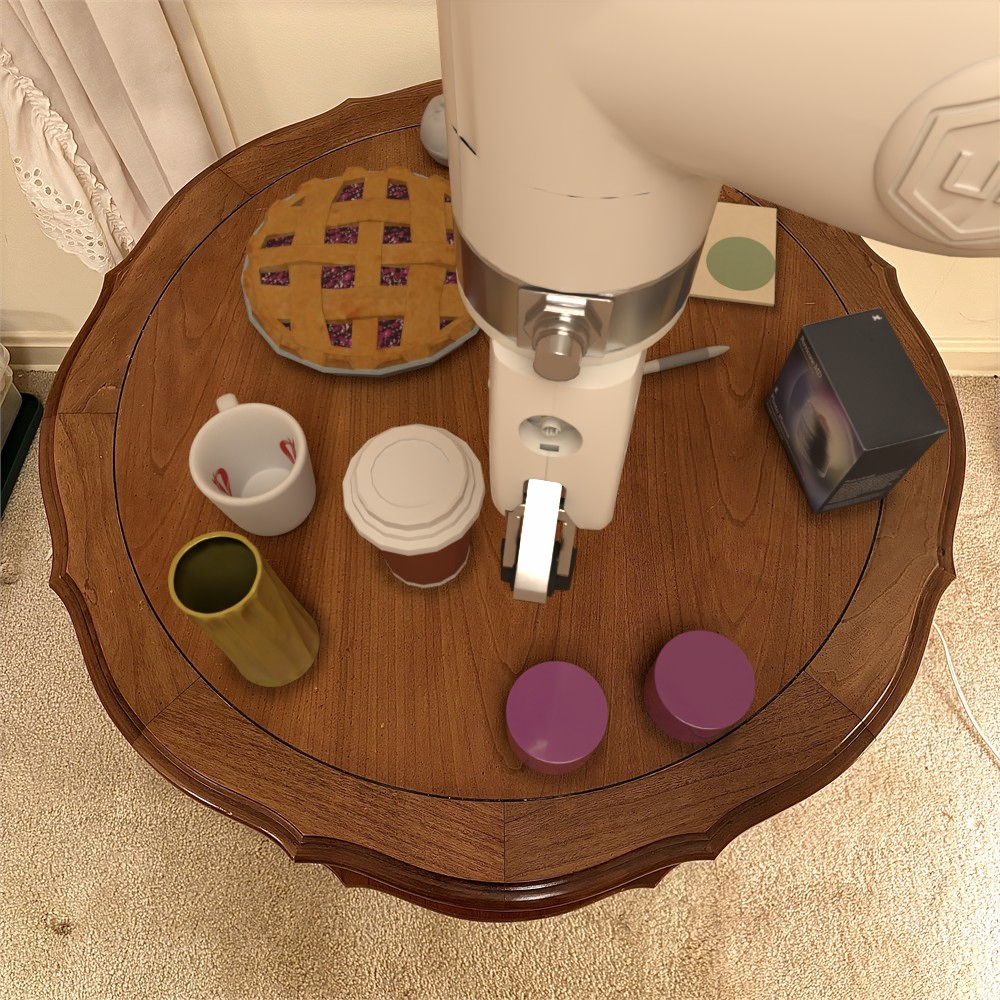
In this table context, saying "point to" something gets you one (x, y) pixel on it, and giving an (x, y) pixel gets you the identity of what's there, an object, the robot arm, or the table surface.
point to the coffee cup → (416, 500)
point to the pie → (359, 274)
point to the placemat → (738, 256)
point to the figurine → (435, 130)
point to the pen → (683, 358)
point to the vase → (244, 608)
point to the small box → (851, 410)
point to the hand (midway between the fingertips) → (549, 488)
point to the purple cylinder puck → (698, 686)
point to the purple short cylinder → (555, 717)
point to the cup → (254, 466)
